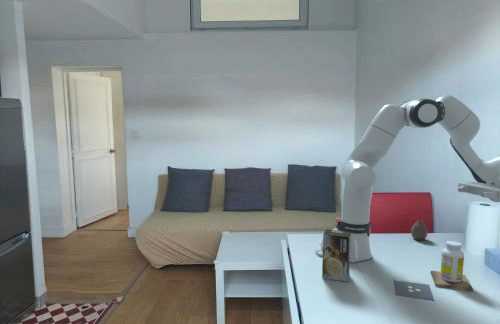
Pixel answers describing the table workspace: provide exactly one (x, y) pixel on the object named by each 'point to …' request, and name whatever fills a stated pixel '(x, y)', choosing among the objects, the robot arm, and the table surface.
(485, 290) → the table surface
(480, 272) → the table surface
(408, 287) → the slate mat
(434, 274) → the walnut board
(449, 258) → the supplement bottle
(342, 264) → the coffee box
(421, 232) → the vase
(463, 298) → the table surface
